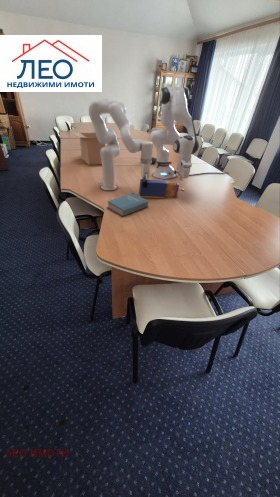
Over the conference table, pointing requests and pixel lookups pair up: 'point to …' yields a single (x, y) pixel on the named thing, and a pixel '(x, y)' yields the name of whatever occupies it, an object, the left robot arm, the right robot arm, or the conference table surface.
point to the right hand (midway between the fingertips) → (180, 180)
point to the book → (127, 204)
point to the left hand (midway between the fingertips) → (144, 185)
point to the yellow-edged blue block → (153, 189)
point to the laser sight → (153, 160)
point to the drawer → (172, 189)
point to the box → (90, 147)
